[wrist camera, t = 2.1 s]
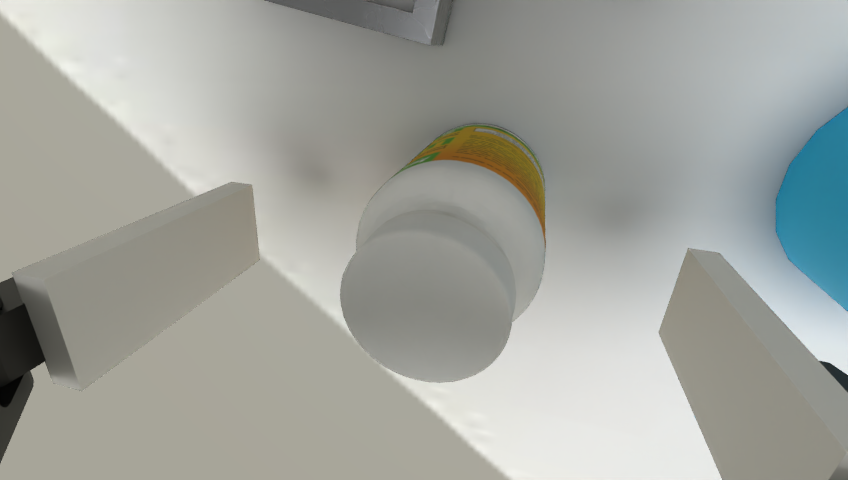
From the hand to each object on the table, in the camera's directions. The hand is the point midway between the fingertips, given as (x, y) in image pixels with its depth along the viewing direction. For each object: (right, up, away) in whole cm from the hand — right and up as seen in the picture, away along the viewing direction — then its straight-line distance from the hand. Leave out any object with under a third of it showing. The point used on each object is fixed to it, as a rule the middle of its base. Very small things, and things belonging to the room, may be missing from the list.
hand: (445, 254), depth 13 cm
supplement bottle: (+2, +3, +5) cm, 6 cm away
